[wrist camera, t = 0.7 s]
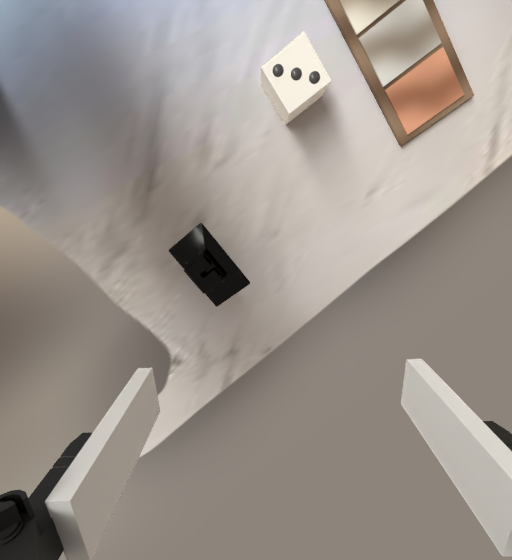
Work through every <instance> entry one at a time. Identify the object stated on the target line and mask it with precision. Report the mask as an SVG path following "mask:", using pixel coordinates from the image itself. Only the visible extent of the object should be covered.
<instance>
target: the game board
mask: <svg viewBox="0 0 512 560" xmlns="http://www.w3.org/2000/svg"><path fill="white" fill-rule="evenodd" d="M325 2H326V4H327V6H328V8H329V10H330V12H331V14H332V16H333V17H334V19H335V21H336V23H337V25H338V27H339V29H340V31H341V33H342V35H343V37H344V39H345V41H346V43H347V44H348V46H349V48H350V50H351V52H352V54H353V56H354V58H355V60H356V62H357V64H358V66H359V68H360V70H361V72H362V73H363V75H364V77H365V79H366V81H367V83H368V85H369V87H370V89H371V91H372V93H373V95H374V97H375V99H376V100H377V102H378V104H379V106H380V108H381V110H382V112H383V114H384V116H385V118H386V120H387V122H388V124H389V126H390V128H391V129H392V131H393V133H394V135H395V137H396V139H397V141H398V143H399V145H400V146H402V145H404V144H405V143H406V142H408V141H409V140H411V139H412V138H414V137H415V136H416V135H418V134H419V133H421V132H422V131H424V130H425V129H426V128H428V127H429V126H431V125H432V124H434V123H435V122H436V121H438V120H439V119H441V118H442V117H444V116H445V115H446V114H448V113H449V112H451V111H452V110H454V109H455V108H456V107H458V106H459V105H461V104H462V103H464V102H465V101H466V100H468V99H469V98H471V97H472V96H474V94H473V92H472V89H471V87H470V85H469V82H468V80H467V78H466V75H465V73H464V71H463V68H462V66H461V64H460V62H459V59H458V57H457V55H456V52H455V50H454V48H453V45H452V43H451V41H450V38H449V36H448V34H447V31H446V29H445V27H444V24H443V22H442V20H441V17H440V15H439V13H438V10H437V8H436V6H435V3H434V1H433V0H325Z"/></svg>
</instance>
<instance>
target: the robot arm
mask: <svg viewBox="0 0 512 560" xmlns="http://www.w3.org/2000/svg"><path fill="white" fill-rule="evenodd" d="M401 405H402V406H403V408H404V409H405V411H406V412H407V414H408V415H409V416H410V418H411V420H412V421H413V423H414V424H415V426H416V427H417V429H418V430H419V432H420V433H421V435H422V436H423V438H424V439H425V441H426V442H427V444H428V445H429V447H430V448H431V450H432V451H433V453H434V454H435V456H436V457H437V459H438V460H439V462H440V463H441V465H442V466H443V468H444V469H445V471H446V472H447V474H448V475H449V477H450V478H451V480H452V481H453V483H454V484H455V486H456V487H457V489H458V490H459V492H460V493H461V495H462V496H463V498H464V499H465V501H466V502H467V504H468V505H469V507H470V508H471V510H472V511H473V513H474V514H475V516H476V517H477V519H478V520H479V522H480V523H481V525H482V526H483V528H484V529H485V531H486V532H487V534H488V535H489V537H490V538H491V540H492V541H493V543H494V544H495V546H496V547H497V549H498V551H499V552H500V554H501V555H502V556H512V434H511V433H509V431H507V430H505V429H504V428H502V427H501V426H499V425H498V424H496V423H494V422H493V421H482V420H481V419H480V418H479V417H478V416H477V415H476V414H475V413H474V412H473V411H472V410H471V409H470V408H469V407H468V406H467V405H466V404H465V403H464V402H463V401H462V400H461V399H460V398H459V397H458V396H457V395H456V394H455V393H454V391H452V389H450V387H449V386H448V385H447V384H446V383H445V382H444V381H443V380H442V379H441V378H440V377H439V376H438V375H437V374H436V373H435V372H434V371H433V370H432V369H431V368H430V367H429V366H428V365H427V364H426V363H425V362H424V361H423V360H422V359H407V360H406V367H405V375H404V383H403V391H402V399H401ZM159 412H160V407H159V402H158V396H157V391H156V386H155V380H154V375H153V369H152V368H138V369H137V370H136V372H135V373H134V375H133V376H132V378H131V379H130V380H129V382H128V383H127V385H126V386H125V387H124V389H123V390H122V392H121V393H120V395H119V396H118V397H117V399H116V400H115V402H114V403H113V405H112V406H111V408H110V409H109V410H108V412H107V413H106V415H105V416H104V417H103V419H102V420H101V422H100V423H99V425H98V426H97V427H96V429H95V430H94V432H93V433H82V434H81V435H80V436H79V437H78V438H76V439H75V440H74V441H73V442H71V443H70V444H69V446H68V447H67V448H66V450H65V451H64V452H63V453H62V455H61V457H60V458H59V459H58V460H57V461H56V463H55V464H54V465H53V468H52V469H50V471H49V472H48V473H47V475H46V476H45V477H44V479H43V480H42V481H41V482H40V484H39V485H38V486H37V488H36V489H35V490H34V492H33V493H32V494H31V496H30V497H29V498H28V497H27V494H26V492H24V491H22V490H14V491H10V492H7V493H4V494H2V495H0V560H58V559H59V557H60V555H61V553H62V552H63V551H64V554H65V556H66V559H67V560H92V558H93V555H94V554H95V551H96V549H97V547H98V545H99V542H100V540H101V538H102V536H103V534H104V532H105V530H106V527H107V525H108V523H109V521H110V518H111V517H112V514H113V512H114V510H115V508H116V506H117V504H118V501H119V499H120V497H121V495H122V493H123V490H124V488H125V486H126V484H127V482H128V480H129V477H130V475H131V473H132V471H133V469H134V467H135V464H136V462H137V460H138V458H139V456H140V454H141V451H142V449H143V447H144V445H145V443H146V440H147V438H148V436H149V434H150V432H151V430H152V427H153V425H154V423H155V421H156V419H157V417H158V414H159Z"/></svg>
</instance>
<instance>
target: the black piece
mask: <svg viewBox="0 0 512 560" xmlns="http://www.w3.org/2000/svg"><path fill="white" fill-rule="evenodd" d="M169 252H170V253H171V254H172V255H173V257H174V258H175V259H176V260H177V261H178V262H179V264H180V265H181V266H182V267H183V268H184V269H185V270H184V271H185V273H186V274H187V275H188V276H189V277H190V278H191V280H192V281H193V282H194V283H195V284H196V285H197V287H198V288H199V289H200V290H201V291H202V292H203V293H205V294H206V295H207V296H208V297H209V299H210V300H211V301H212V302H213V303H214V304H215V306H218V305H220V304H221V303H223V302H224V301H226V300H227V299H229V298H230V297H231V296H233V295H234V294H236V293H237V292H239V291H240V290H241V289H243V288H244V287H246V286H247V285H249V284H250V282H249V280H248V279H247V278H246V277H245V276H244V274H243V273H242V272H241V271H240V269H239V268H238V267H237V266H236V265H235V263H234V262H233V261H232V260H231V258H230V257H229V256H228V255H227V253H226V252H225V251H224V250H223V249H222V247H221V246H220V245H219V244H218V242H217V241H216V240H215V239H214V238H213V236H212V235H211V234H210V233H209V231H208V230H207V229H206V228H205V226H204V225H203V224H202V223H200V224H199V225H198V226H196V227H195V228H194V229H193V230H192V231H191V232H189V233H188V234H187V235H186V236H185V237H184V238H182V239H181V240H180V241H179V242H178V243H177V244H175V245H174V246H173V247H172V248H171V249H170V250H169Z"/></svg>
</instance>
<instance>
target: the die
mask: <svg viewBox="0 0 512 560" xmlns="http://www.w3.org/2000/svg"><path fill="white" fill-rule="evenodd" d="M330 82H331V79H330V78H329V76H328V74H327V72H326V70H325V69H324V67H323V65H322V63H321V61H320V59H319V58H318V56H317V54H316V52H315V50H314V48H313V47H312V45H311V43H310V41H309V39H308V37H307V36H306V34H305V32H303V33H301V34H300V35H299V36H298V37H297V38H295V39H294V40H293V41H292V42H291V43H289V44H288V45H287V46H286V47H285V48H284V49H282V50H281V51H280V52H279V53H278V54H276V55H275V56H274V57H273V58H272V59H271V60H269V61H268V62H267V63H266V64H265V65H263V66H262V67H261V86H262V88H263V89H264V91H265V93H266V94H267V96H268V98H269V99H270V101H271V103H272V104H273V106H274V107H275V109H276V111H277V112H278V114H279V116H280V117H281V119H282V121H283V122H284V124H285V125H286V124H287V123H289V122H290V121H291V120H293V119H294V118H295V117H296V116H298V115H299V114H300V113H301V112H303V111H304V110H305V109H307V108H308V107H309V106H310V105H312V104H313V103H314V102H316V101H317V100H318V99H319V98H321V97H322V95H323V93H324V92H325V90H326V88H327V87H328V85H329V84H330Z"/></svg>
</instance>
